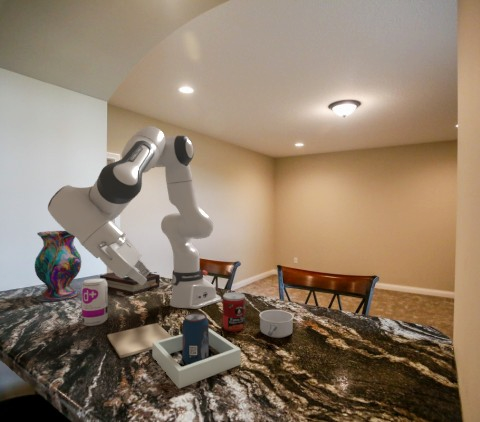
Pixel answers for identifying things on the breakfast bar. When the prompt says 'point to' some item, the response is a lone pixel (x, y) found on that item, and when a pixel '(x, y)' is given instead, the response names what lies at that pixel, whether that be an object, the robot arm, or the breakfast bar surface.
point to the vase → (57, 265)
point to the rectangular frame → (198, 369)
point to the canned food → (233, 311)
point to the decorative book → (131, 283)
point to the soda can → (195, 338)
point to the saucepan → (276, 323)
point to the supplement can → (94, 301)
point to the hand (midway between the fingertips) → (146, 278)
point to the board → (137, 339)
